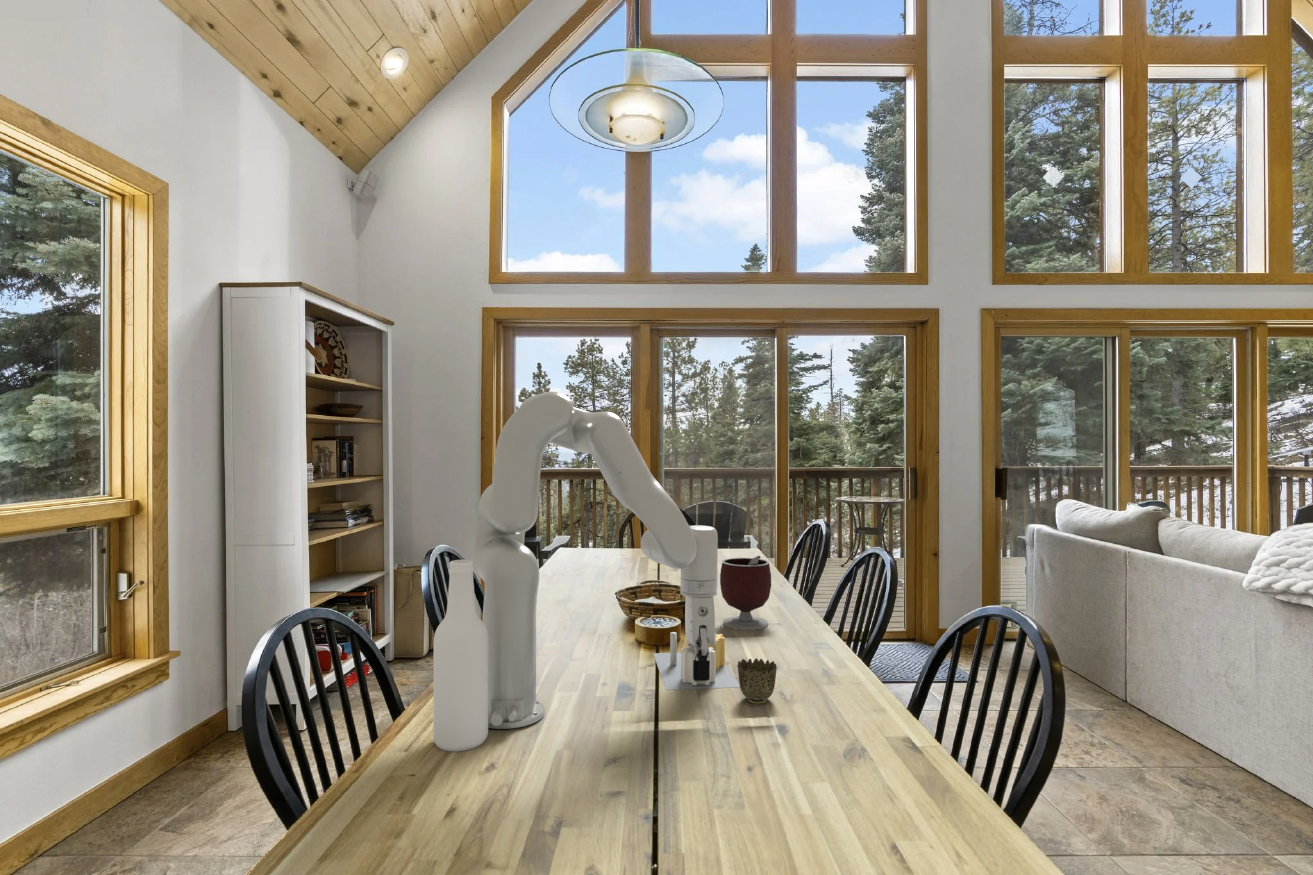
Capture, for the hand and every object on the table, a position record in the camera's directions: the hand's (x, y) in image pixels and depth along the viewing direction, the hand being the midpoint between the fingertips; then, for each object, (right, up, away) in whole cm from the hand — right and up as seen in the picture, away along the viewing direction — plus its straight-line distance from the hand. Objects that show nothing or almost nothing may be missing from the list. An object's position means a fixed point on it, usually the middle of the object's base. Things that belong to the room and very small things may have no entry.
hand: (698, 673), depth 144 cm
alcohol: (-41, -3, -27) cm, 49 cm away
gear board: (0, -3, +7) cm, 8 cm away
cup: (+11, -3, -11) cm, 15 cm away
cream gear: (0, -1, 0) cm, 1 cm away
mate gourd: (+16, -3, +48) cm, 51 cm away
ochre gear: (+3, -1, +10) cm, 11 cm away
